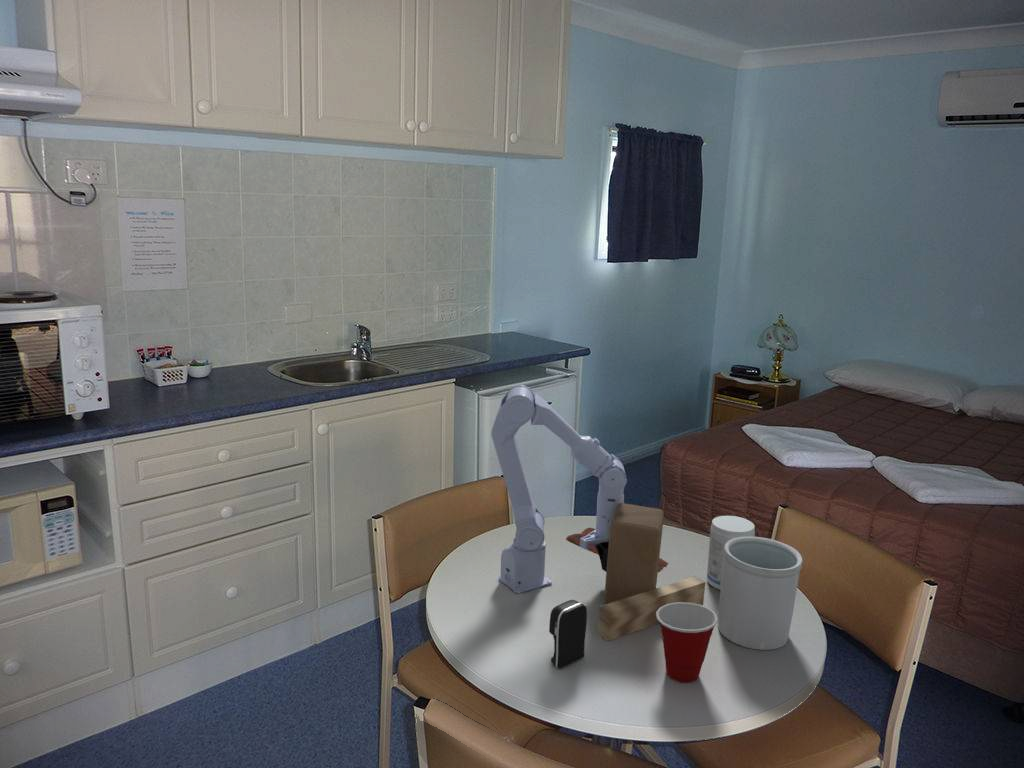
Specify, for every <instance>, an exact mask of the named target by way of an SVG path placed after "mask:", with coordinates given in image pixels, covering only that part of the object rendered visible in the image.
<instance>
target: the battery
mask: <svg viewBox="0 0 1024 768" xmlns="http://www.w3.org/2000/svg"><path fill="white" fill-rule="evenodd" d="M587 618H588V608H587V606H586V605H585V604H584V603H583V602H579V601H578V600H576V599H570V600H566V601H565V602H562V603H559V604H558V605H556V606H555V607H553V608H552V609H551V611H550V615H549V626H548V627H549V629H548V631H549V634H551V635H552V636H553V641H554V642H553V643H554V644H553V645H554V646H553V649H554V651H553V656H552V657H551V658H550V662H551V664H552V665H554V667H556V668H557V669H560V670H561V669H563V668H565V667H567V666H571V665H572V664H573V663H576V662H578V661H579V660H580V659H583V658H584V657H585V646H586V645H585V644H586V642H585V641H586V634H587V621H588V619H587Z"/></svg>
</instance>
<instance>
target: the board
mask: <svg viewBox="0 0 1024 768" xmlns="http://www.w3.org/2000/svg"><path fill="white" fill-rule="evenodd" d="M705 587H706V581H704V580H703V579H701V578H699V577H698V576H695V575H693V576H692V577H691V576H690V577H687V578H685V579H682V580H679V581H676V582H675V581H674V582H672V583H669V584H666V585H663V586H662V585H661V586H659V587H656V589H653V590H650V591H646V592H643V593H640V594H637V595H634V596H631V597H628V598H624V599H621V600H618V601H615V602H612V603H609V604H605V603H604V604H603V605H600V606H599V613H598V614H599V615H598V626H597V627H598V628H597V629H598V630H597V634H598V635H599V636H600V635H601V636H600V637H602V638H603V639H604V638H605V641H607V642H609V641H611V640H614V639H618V638H620V636H621V637H624V636H626V635H629V634H633V633H634V632H637V630H638V631H641V630H643V628H644V629H646V628H649V627H652V626H655V625H658V624H660V623H659V621H658V620H657V615H656V612H657V611H658V609H659V608H660V607H662V606H664V605H666V604H671V603H677V602H685V603H694V604H699V605H702V606H704V599H705V590H706V588H705ZM640 629H641V630H640Z"/></svg>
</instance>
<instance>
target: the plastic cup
mask: <svg viewBox="0 0 1024 768" xmlns="http://www.w3.org/2000/svg"><path fill="white" fill-rule="evenodd" d="M656 615H657V620H658V621H659V623H658V624H659V625H660V626H659V627H660V630H661V635H662V643H663V653H664V659H665V660H664V661H665V670H666V674H667V675H668V677H669V678H671V679H672V680H674V681H676V682H678V683H686V684H688V683H693V682H695V681H697V680H698V677H699V676H700V673H701V670H702V666H703V663H704V662H705V658H706V654H707V651H708V648H709V643H710V639H711V637H712V635H713V631H714V629H715V626H716V624H718V615H717V613H715V612H714V611H713V610H712V609H711V608H709V607H706V606H704V605H703V606H702V605H699V604H694V603H685V602H677V603H671V604H666V605H664V606H662V607H660V608H659V609H658V611H657V612H656Z"/></svg>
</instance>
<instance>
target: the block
mask: <svg viewBox="0 0 1024 768" xmlns="http://www.w3.org/2000/svg"><path fill="white" fill-rule="evenodd" d="M664 517H665V513H664V511H663V510H662V509H660V508H656V507H655V508H654V507H648V506H643V505H642V506H641V505H636V504H631V503H630V504H629V503H625V502H624V503H620V504H618V506H617V508H616V510H615V513H614V516H613V519H612V521H611V524H610V535H609V547H608V559H607V571H605V573H606V574H605V585H604V596H603V601H604V605H605V604H609V603H612V602H615V601H618V600H621V599H624V598H628V597H631V596H634V595H637V594H640V593H643V592H646V591H650V590H653V589H656V588H657V583H658V574H659V572H658V565H659V558H660V556H661V555H660V554H661V546H662V545H661V544H662V537H663V536H662V535H663V526H664Z"/></svg>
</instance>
